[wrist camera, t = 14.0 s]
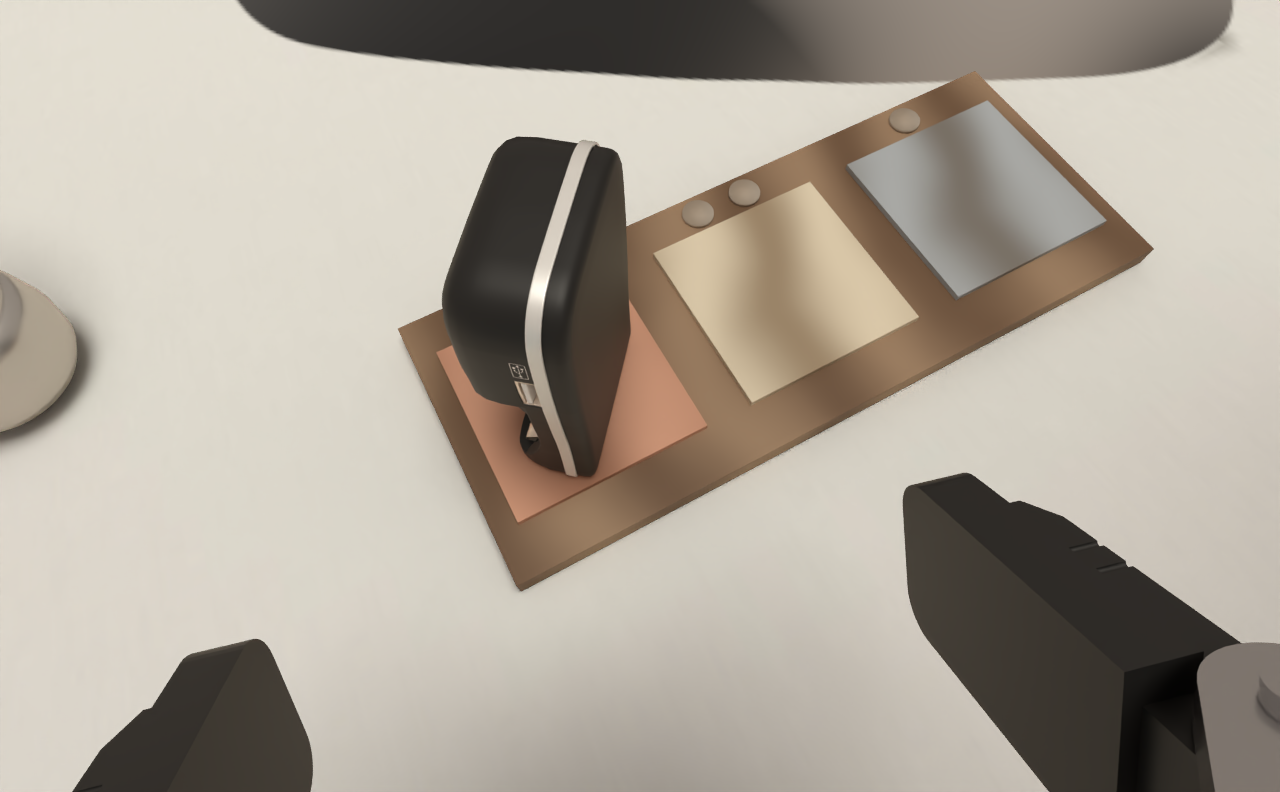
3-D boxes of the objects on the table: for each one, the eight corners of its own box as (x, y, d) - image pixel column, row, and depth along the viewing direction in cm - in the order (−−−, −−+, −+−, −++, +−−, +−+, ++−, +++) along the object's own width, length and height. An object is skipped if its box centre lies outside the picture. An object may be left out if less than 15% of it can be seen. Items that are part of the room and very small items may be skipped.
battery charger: (544, 311, 31) (489, 96, 21) (634, 327, 31) (624, 116, 20) (496, 468, 28) (405, 309, 18) (594, 487, 28) (560, 337, 18)
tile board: (967, 87, 38) (977, 66, 37) (1140, 262, 33) (1158, 244, 32) (405, 340, 32) (395, 325, 31) (521, 591, 28) (515, 584, 27)
